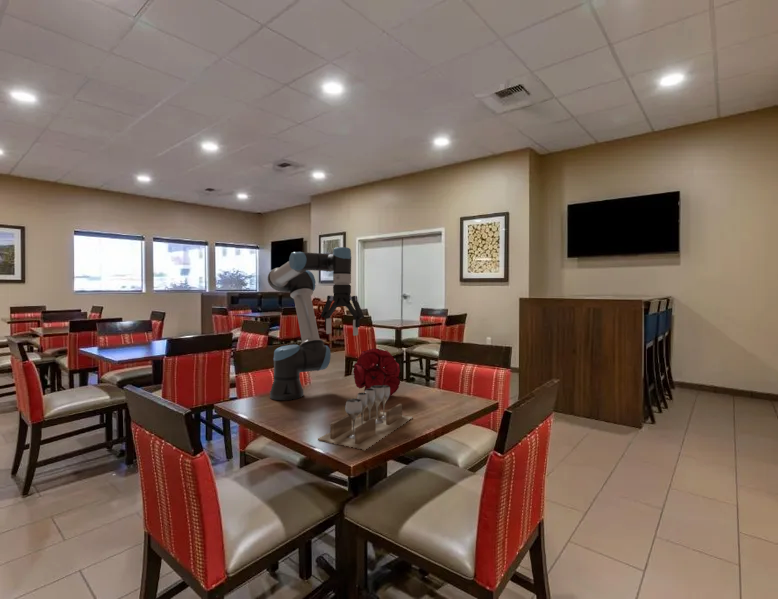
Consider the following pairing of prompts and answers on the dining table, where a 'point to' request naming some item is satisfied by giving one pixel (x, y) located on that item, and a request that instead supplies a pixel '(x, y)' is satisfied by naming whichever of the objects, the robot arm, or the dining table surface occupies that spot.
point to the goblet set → (368, 398)
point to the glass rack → (365, 428)
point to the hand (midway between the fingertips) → (341, 334)
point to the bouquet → (377, 370)
